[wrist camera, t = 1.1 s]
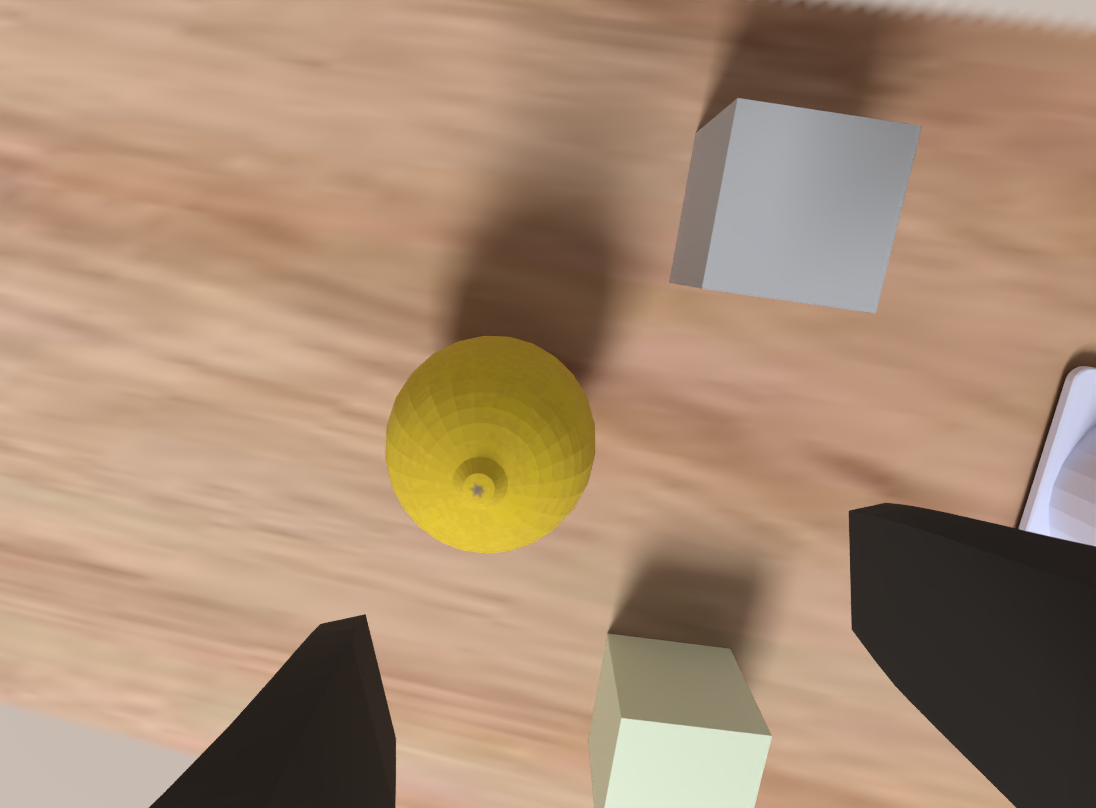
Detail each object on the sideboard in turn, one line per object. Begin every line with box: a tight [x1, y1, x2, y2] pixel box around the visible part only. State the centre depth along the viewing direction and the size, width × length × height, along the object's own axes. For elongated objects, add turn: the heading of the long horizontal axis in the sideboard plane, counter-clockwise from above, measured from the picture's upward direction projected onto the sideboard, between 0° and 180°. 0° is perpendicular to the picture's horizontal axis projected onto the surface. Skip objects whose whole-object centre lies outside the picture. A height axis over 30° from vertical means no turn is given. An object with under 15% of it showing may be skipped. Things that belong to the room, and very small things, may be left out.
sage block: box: [588, 633, 772, 808], centre depth 22 cm, size 4×4×4 cm
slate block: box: [669, 98, 922, 313], centre depth 18 cm, size 4×4×4 cm
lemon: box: [386, 336, 595, 553], centre depth 18 cm, size 6×6×8 cm
